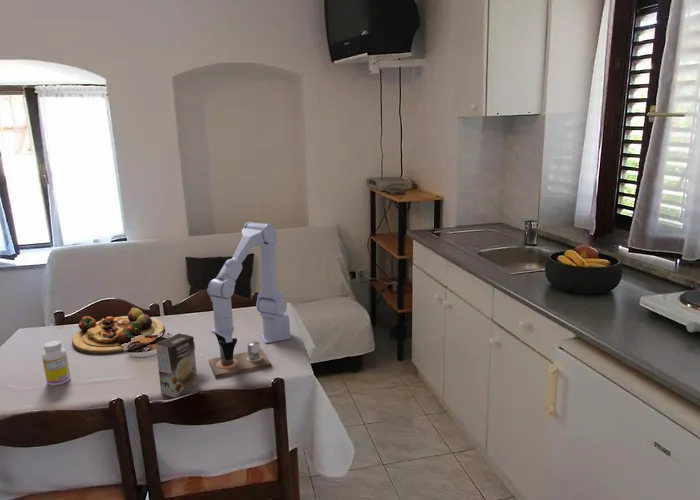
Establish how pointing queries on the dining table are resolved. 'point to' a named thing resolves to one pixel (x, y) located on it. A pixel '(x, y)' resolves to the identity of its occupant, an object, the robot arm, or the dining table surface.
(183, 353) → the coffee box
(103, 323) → the wooden plate with food
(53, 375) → the supplement bottle
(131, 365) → the dining table surface
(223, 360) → the steel pin
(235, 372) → the board
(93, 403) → the dining table surface
